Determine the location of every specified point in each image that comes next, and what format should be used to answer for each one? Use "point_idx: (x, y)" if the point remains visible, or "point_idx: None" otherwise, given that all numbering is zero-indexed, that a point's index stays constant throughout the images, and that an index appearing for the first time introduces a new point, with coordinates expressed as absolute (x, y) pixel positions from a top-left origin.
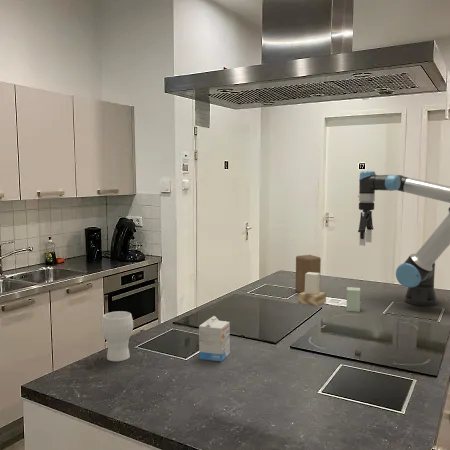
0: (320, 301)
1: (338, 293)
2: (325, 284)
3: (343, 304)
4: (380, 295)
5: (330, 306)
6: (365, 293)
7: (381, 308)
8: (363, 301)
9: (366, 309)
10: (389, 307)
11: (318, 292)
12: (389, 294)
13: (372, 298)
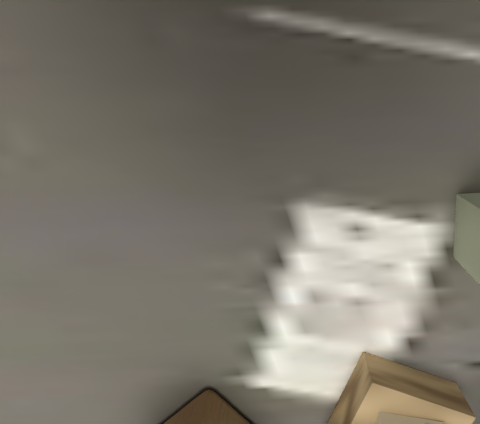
0: (424, 380)
1: (171, 307)
2: (6, 374)
3: (394, 273)
4: (126, 90)
5: (449, 327)
6: (114, 175)
7: (433, 76)
8: (301, 179)
9: (473, 157)
10: (399, 30)
11: (404, 419)
12: (79, 36)
13: (216, 133)
